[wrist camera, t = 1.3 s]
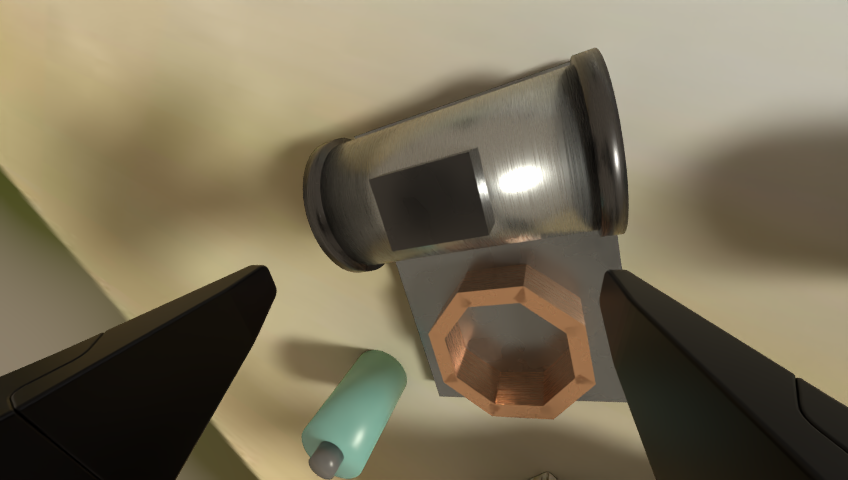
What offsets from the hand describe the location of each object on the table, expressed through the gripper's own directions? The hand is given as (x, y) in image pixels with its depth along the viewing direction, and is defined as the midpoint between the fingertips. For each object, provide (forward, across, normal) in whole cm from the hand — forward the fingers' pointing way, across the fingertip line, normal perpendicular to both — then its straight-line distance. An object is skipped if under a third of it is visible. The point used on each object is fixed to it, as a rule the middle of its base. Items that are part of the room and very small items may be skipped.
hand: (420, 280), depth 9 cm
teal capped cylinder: (+12, +8, +20) cm, 25 cm away
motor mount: (+12, -2, +8) cm, 15 cm away
